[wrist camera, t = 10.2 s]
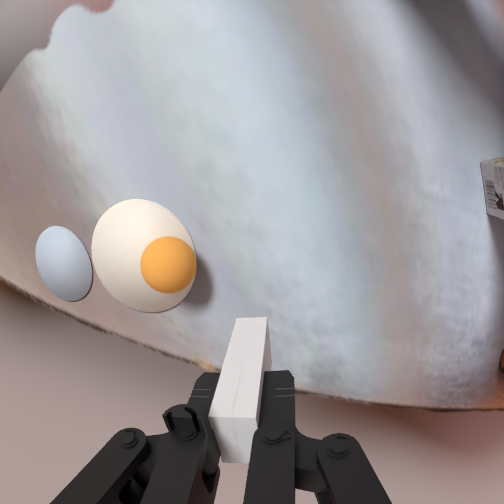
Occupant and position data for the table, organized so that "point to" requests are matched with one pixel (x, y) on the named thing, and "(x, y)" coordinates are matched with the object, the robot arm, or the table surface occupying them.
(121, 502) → the robot arm
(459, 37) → the table surface
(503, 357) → the bread roll
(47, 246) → the pale blue disc
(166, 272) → the ball
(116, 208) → the disc
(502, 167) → the coffee box
